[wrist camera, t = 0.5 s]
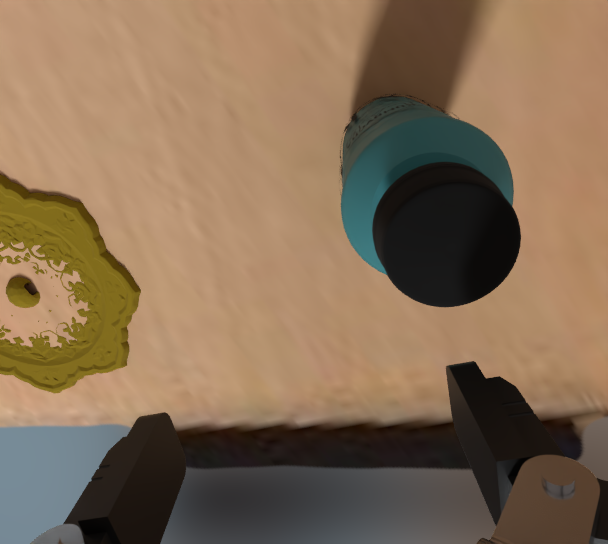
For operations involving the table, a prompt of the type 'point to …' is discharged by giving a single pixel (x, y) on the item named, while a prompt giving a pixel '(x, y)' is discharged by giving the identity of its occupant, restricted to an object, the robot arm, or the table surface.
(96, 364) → the decorative medallion
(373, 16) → the table surface
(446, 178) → the beverage bottle
